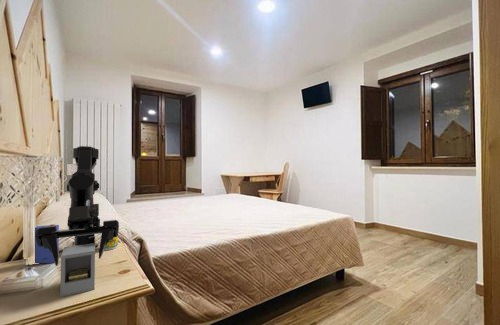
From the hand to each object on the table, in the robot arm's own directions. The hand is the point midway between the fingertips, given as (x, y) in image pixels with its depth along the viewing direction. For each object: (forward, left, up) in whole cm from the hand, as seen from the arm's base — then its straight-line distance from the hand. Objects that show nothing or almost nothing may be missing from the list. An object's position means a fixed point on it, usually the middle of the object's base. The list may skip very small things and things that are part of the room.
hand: (78, 261), depth 64 cm
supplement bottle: (-18, +25, -7) cm, 32 cm away
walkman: (-26, +7, -7) cm, 28 cm away
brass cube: (-1, +1, -7) cm, 7 cm away
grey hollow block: (-1, +1, -7) cm, 7 cm away
